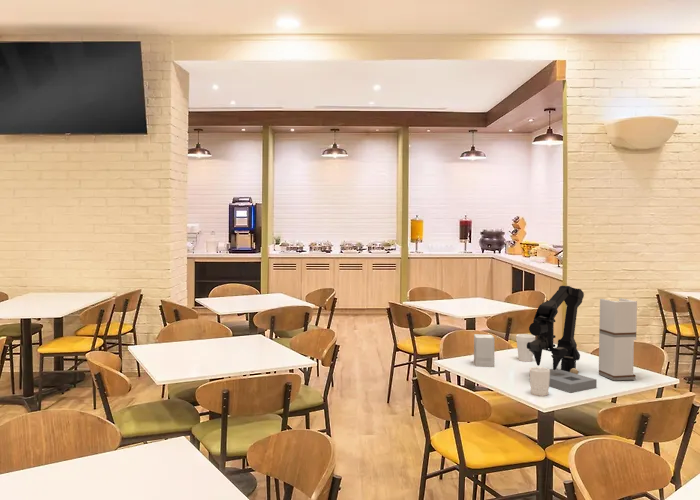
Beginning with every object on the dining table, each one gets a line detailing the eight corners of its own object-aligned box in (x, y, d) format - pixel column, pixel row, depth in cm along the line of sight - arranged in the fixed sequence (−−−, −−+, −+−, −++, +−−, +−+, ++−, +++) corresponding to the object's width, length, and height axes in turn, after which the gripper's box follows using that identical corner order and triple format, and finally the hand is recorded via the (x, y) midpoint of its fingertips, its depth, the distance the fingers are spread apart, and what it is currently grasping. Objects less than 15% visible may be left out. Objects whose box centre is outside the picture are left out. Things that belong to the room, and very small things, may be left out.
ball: (576, 372, 259) (579, 367, 261) (568, 370, 261) (571, 365, 264) (576, 378, 260) (579, 374, 263) (568, 376, 263) (571, 372, 265)
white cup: (526, 391, 237) (526, 367, 237) (544, 390, 238) (545, 366, 238) (534, 396, 229) (534, 372, 229) (553, 396, 230) (553, 371, 230)
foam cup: (537, 360, 293) (537, 335, 292) (532, 364, 285) (532, 338, 284) (518, 358, 298) (518, 333, 297) (513, 361, 290) (513, 336, 289)
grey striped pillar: (635, 379, 256) (637, 301, 255) (613, 380, 254) (615, 301, 253) (619, 373, 267) (620, 298, 266) (598, 374, 266) (599, 298, 264)
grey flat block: (555, 375, 262) (555, 368, 262) (596, 387, 243) (596, 379, 242) (529, 380, 254) (529, 372, 254) (570, 392, 235) (570, 384, 235)
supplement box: (492, 364, 285) (492, 334, 284) (494, 368, 276) (495, 337, 275) (473, 363, 286) (473, 333, 285) (475, 368, 277) (475, 337, 276)
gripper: (518, 331, 260) (517, 365, 261) (550, 338, 244) (550, 374, 244) (535, 329, 265) (535, 362, 266) (568, 335, 249) (568, 371, 250)
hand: (546, 367), depth 256 cm, fingers open, 9 cm apart
